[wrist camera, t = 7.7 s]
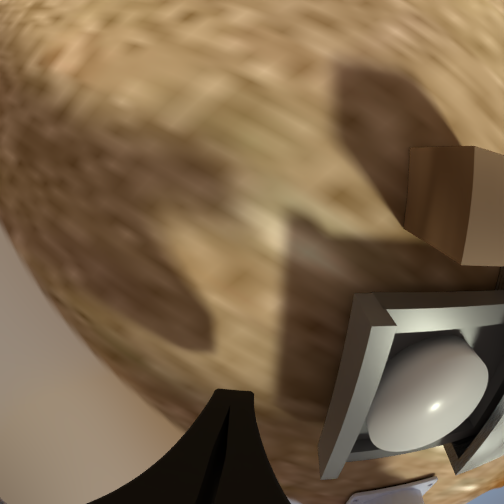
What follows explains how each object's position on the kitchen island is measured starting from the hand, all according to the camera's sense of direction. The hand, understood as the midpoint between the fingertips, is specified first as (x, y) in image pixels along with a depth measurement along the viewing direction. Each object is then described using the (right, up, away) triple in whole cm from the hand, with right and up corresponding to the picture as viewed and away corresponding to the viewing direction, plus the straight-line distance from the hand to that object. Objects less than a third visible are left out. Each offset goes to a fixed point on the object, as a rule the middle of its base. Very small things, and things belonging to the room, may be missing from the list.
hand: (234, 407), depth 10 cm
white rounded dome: (+8, 0, 0) cm, 8 cm away
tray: (+9, 0, +1) cm, 9 cm away
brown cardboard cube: (+8, +8, -1) cm, 11 cm away
